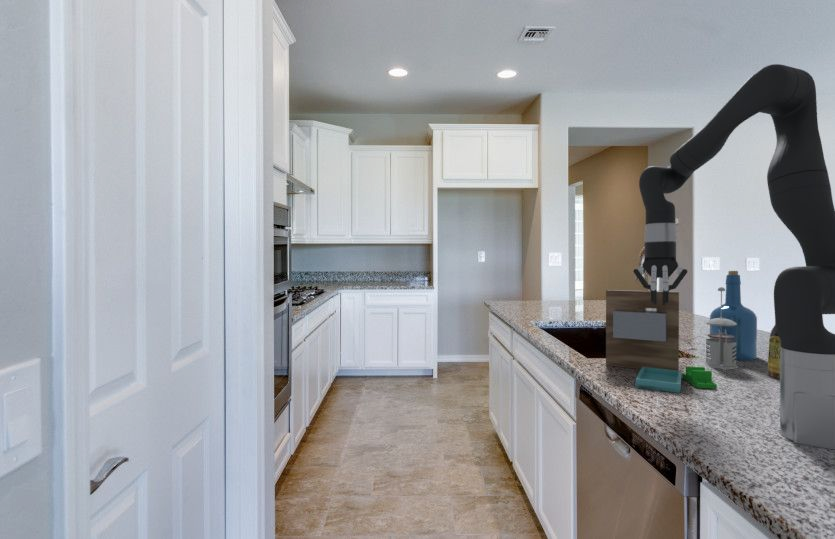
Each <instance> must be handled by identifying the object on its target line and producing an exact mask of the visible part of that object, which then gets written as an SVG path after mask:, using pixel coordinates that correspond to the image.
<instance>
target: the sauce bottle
mask: <svg viewBox="0 0 835 539" xmlns="http://www.w3.org/2000/svg"><path fill="white" fill-rule="evenodd" d="M780 347H781V346H780V338H779V336H778V333H777V331H776V325H775V324H774V326H773V327H772V329H771V331H770V334H769V340H768V358H767V371H768V373H767V375H768V376H769V377H770V378H774V379H779V380H780Z"/></svg>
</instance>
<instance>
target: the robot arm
mask: <svg viewBox="0 0 835 539" xmlns="http://www.w3.org/2000/svg"><path fill="white" fill-rule="evenodd" d="M816 88H817V87H816V83H815V80H814V78H813V76H812V75H811V74H810V73H809V72H807V71H806V70H803V69H800V68H797V67H793V66H789V65H785V64H778V63H774V64H769V65H766V66H763V67H762V68H760V69H759V70H757V71H756V72H755V73H754V74H752V75H751V76H750V77H749V78H748V79H747V80H746V81H745V82H744V83H743V84H742V85H741V86H740V87H739V88H738V90H737V91H736V92H735V93H734V94H733V95H732V96H731V97H730V98H729V100H728V101H727V102H726V103H725V104H724V105H722V107H721V108H720V109H719V110H718V111H717V112H716V113H715V115H714V116H713V117H712V118H710V120H709V121H708V122H707V123H706V124H705V125H703V127H702V128H701V129H700V130H699V131H698V132H696V133H695V134H694V135H693V136H692V137H690V138H689V139H688V140H687V141H685V142H684V143H683V144H682V145H681V146H680V147H678V148H677V149H676V150H675V151H674V152H673V153H671V155H670V158H669V163H670V166H669V165H668V166H660V165H659V166H658V165H651V166H647V167H646V168H645V169H644V170H642V173H640V175H639V180H638V186H639V187H638V189H639V192H640V195H641V200H642V203H643V206H644V209H645V225H644V226H645V228H644V239H643V240H644V251H643V252H644V254H643V255H644V260H643V262H642V263H641V264H642V265H641V266H639V267H637V268H634V269H633V273H634V275H635V276H636V277H637V280H638V281H639V283H641V285H642V287H643V288H644V289H647V290H648V291H651V302H654V305H657V282H658V279H662V283H663V284H662V286H663V289H662V305H666V303H668V301H669V292H670V291H672V290H675V289H676V288H677V287H678V286H679V285H680V283H681V282H682V280H683V279H684V278H685V276H686V275H687V273H688V271H689V270H688V269H687V268H683V267H682V266H679V262H678V261H677V238H678V237H677V229H676V207H675V204H674V203H673V202H671V201H668V200H667V199H666V196H665V195H666V194H671V193H674V192H676V191H677V190H679V189H681V187H683V186H684V184H685V183H686V182H687V181H688V180H689V178H690V177H691V176H692V174H693V173H694V172H695V171H696V170H698V169H700V168H701V167H702V166H704V165H705V164H707V163H708V162H709V161H711V160H712V159H713V158H714V157H716V156H717V155H718V154H719V152H721V150H722V149H723V147H724V146H725V144H726V142H727V141H728V139H729V137H730V136H731V134H732V133H733V132H734V130H736V128H738V127H739V126H740V125H741V124H743V123H744V122H745V121H747V120H748V119H750V118H752V117H753V116H755V115H756V114H758V113H762V114H768V115H769V116H770V117H771V119H772V122H773V126H774V130H775V135H776V146H775V149H774V153H773V155H772V158H771V160H770V163H769V166H768V169H767V174H766V181H767V182H766V183H767V188H768V194H769V199H770V200H769V201H770V204H771V208H772V209H773V212H775V214H776V216H777V217H778V218H779V219H780V221H781V222H782V223H783V225H784V226H785V227H786V228H787V229H788V230H789V231H790V232H791V234H792V236H794V237H795V239H796V241H797V243H798V244H799V245H800V248H801V250H802V254H803V257H804V261H805V266H791V267H787V268H785V269H784V270H782V271H781V272H779V274H778V275H777V278H776V279H775V281H774V288H773V306H774V319H775V320H774V326H775V325H776V331H777V333H778V336H779V338H780V346H781V347H780V379H779V433H780V435H781V436H782V437H784V438H786V439H788V440H790V441H792V442H794V444H798V445H804V446H810V447H817V448H823V449H824V448H825V449H828V450H834V451H835V333H833V332H831V331H829V330H828V329H827V328H826V327H825V325H824V324H825V323H824V316H823V315H835V206H834V201H833V194H832V186H831V182H830V178H829V172H828V168H827V165H826V160H825V155H824V151H823V144H822V140H821V135H820V131H819V121H818V108H817V107H818V106H817V103H818V102H817V90H816ZM676 270H677V272H676V274H677V275H678V276H677V277H676V279H675V280H674V282H672V284H670V277H671V276H672V275H673V274H674V272H675V271H676ZM644 271H645V272H646V273H647V274H648V276H649V277H650V284H649V282H647V280H646V278H645V277H644V276H643V275H644V274H645V273H644Z"/></svg>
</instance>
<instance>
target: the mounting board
mask: <svg viewBox="0 0 835 539" xmlns="http://www.w3.org/2000/svg"><path fill="white" fill-rule="evenodd" d="M656 291H657V290H656ZM662 291H663V290H662ZM662 291H661V290H658V291H657V305H654V302H651V291H650V290H621V289H620V290H619V289H618V290H616V289H607V290H605V366H611V367H620V368H629V369H637V370H639V369H640V370H641V368H642V367H649V368H658V369H667V370H676V371H680V369H679V368H680V363H679V362H680V355H679V354H680V348H679V347H680V320H679V319H680V291H669V301H668V303H666V305H662ZM645 308H657V311H658V312H667V340H666V342H664V341H652V340H639V339H627V338H614V337H613V311H614V310H637V311H645Z"/></svg>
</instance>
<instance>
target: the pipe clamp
mask: <svg viewBox="0 0 835 539" xmlns="http://www.w3.org/2000/svg"><path fill="white" fill-rule="evenodd" d="M712 374H713V373H712V370H706V367H705V366H686V365H685V372H682V379H684V380H686V381H687V382H688V383H689V384H691V385H693V386H694V387H696V388H697V389H716V390H717V389H718V388H717V386H718V385H717V384H716V383H715V382H713V380H712V379H713V375H712Z"/></svg>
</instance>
